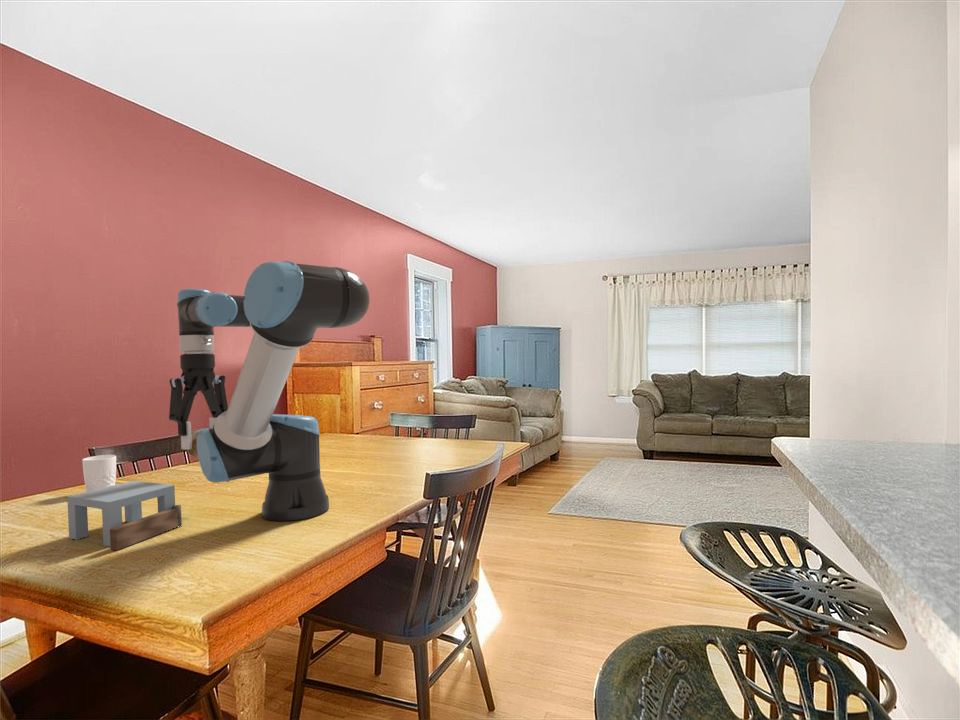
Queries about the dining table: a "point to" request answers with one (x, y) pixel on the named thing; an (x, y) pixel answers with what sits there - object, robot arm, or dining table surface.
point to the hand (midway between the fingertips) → (201, 446)
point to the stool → (115, 505)
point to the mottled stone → (195, 442)
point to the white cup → (99, 471)
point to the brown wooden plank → (145, 528)
